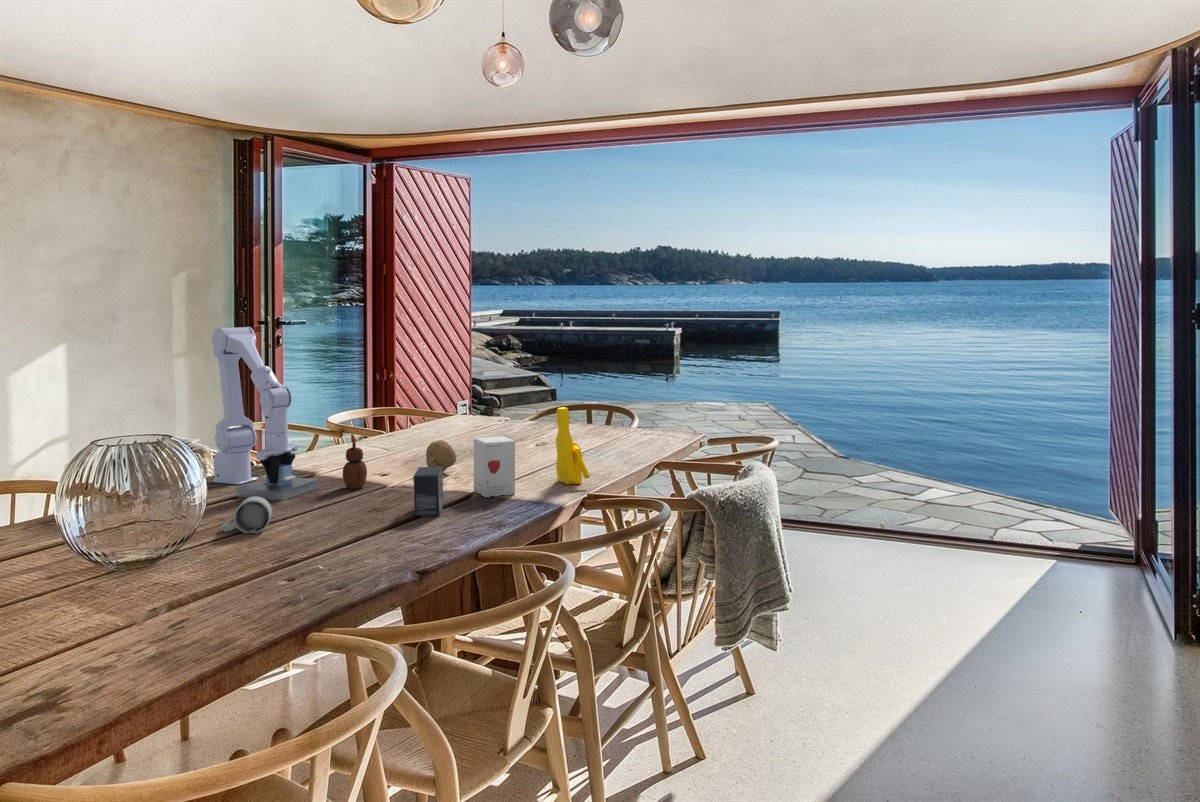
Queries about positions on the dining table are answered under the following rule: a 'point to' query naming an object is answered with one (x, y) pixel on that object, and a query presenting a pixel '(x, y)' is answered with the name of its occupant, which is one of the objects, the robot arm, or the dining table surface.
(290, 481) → the block
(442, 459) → the natural sponge
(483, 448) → the supplement box
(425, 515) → the small box
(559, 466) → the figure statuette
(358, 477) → the wooden figurine
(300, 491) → the plate
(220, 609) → the dining table surface
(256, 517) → the ceramic mug
